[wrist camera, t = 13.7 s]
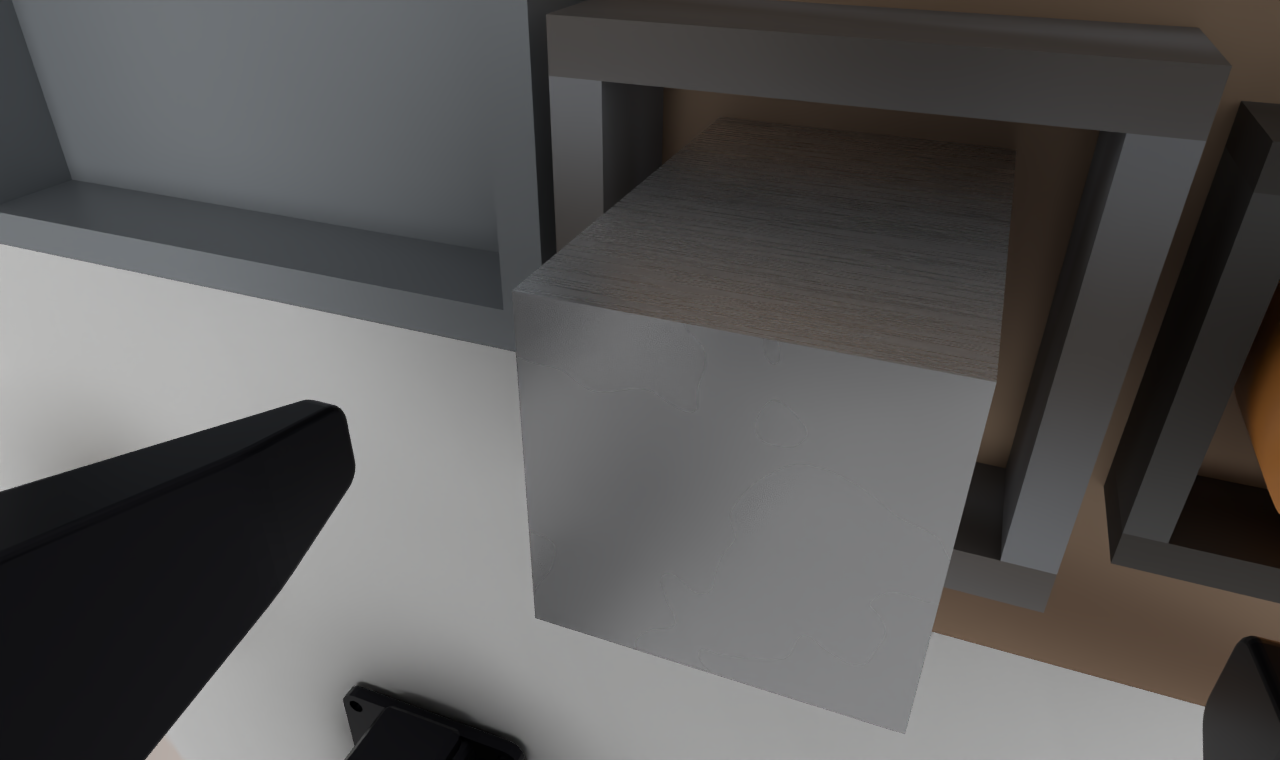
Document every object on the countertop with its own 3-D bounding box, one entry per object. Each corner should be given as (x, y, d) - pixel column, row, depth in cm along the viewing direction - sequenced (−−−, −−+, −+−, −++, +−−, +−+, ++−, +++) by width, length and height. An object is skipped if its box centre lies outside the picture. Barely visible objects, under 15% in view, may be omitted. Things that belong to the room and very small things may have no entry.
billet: (955, 407, 15) (904, 734, 10) (706, 358, 17) (535, 618, 11) (1016, 149, 13) (996, 382, 7) (720, 116, 14) (511, 291, 9)
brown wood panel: (1422, 717, 16) (1508, 913, 13) (630, 511, 21) (562, 620, 18) (2177, -328, 8) (2813, -428, 5) (631, -274, 13) (511, -309, 10)
